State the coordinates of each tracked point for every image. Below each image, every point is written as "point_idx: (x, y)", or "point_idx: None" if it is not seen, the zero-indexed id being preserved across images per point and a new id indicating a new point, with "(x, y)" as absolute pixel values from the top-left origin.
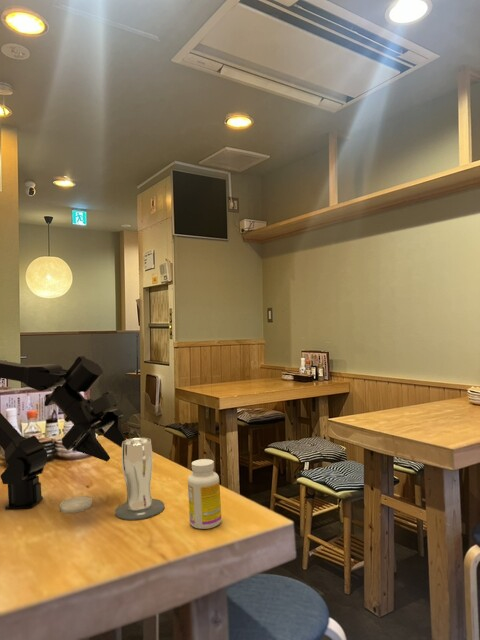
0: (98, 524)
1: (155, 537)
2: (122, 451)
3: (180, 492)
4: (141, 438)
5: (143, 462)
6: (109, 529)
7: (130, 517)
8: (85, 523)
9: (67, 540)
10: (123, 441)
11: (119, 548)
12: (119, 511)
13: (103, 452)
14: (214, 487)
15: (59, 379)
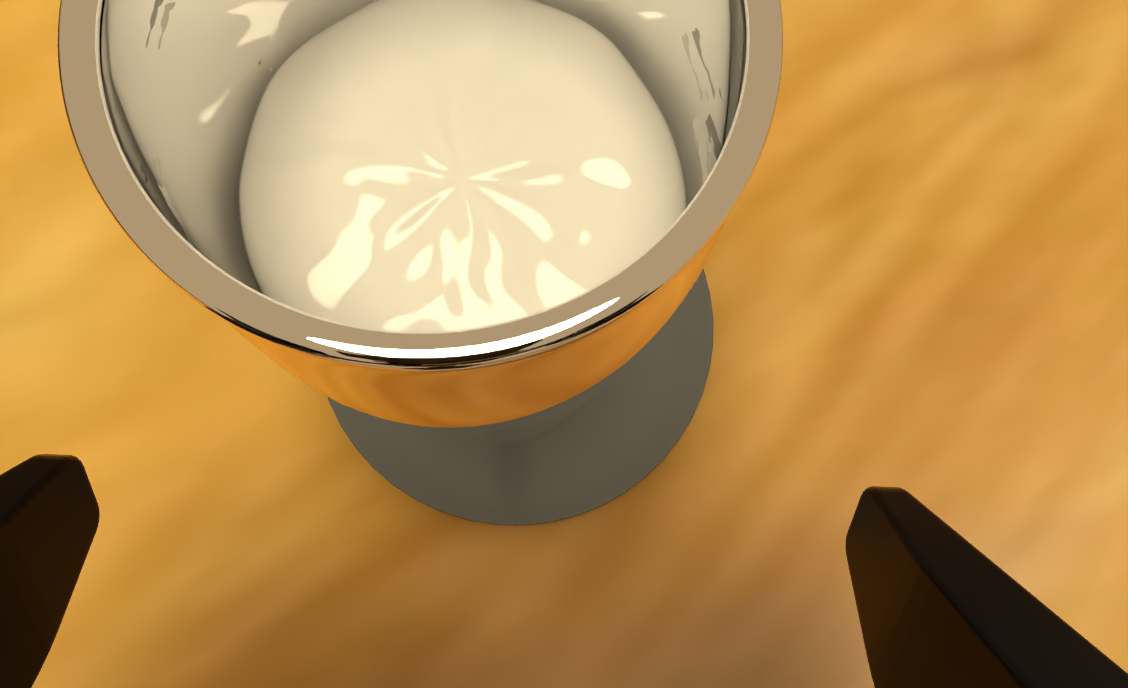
0: (805, 543)
1: (925, 55)
2: (661, 316)
3: None
4: (101, 13)
5: (628, 26)
6: (870, 413)
7: (711, 316)
8: (803, 664)
9: None
10: (457, 342)
11: (1102, 218)
12: (611, 459)
13: (1034, 602)
14: None
15: None
